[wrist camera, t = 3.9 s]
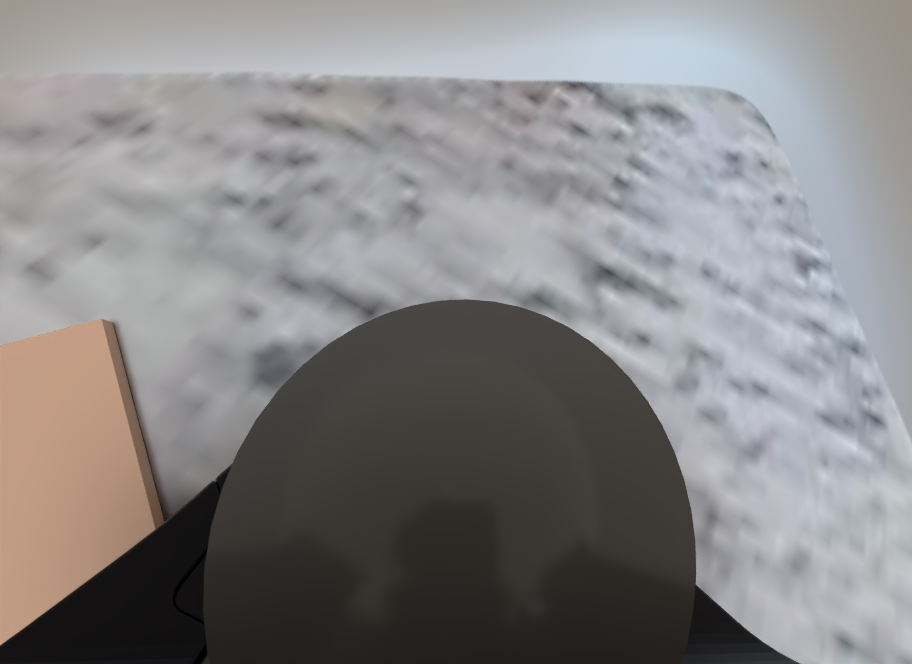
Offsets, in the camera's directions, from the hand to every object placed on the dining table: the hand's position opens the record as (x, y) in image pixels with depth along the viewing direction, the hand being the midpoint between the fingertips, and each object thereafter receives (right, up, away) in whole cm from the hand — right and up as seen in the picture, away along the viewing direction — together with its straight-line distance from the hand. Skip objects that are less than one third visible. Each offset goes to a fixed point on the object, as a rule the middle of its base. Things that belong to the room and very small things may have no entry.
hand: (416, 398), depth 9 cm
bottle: (-2, -3, +6) cm, 7 cm away
